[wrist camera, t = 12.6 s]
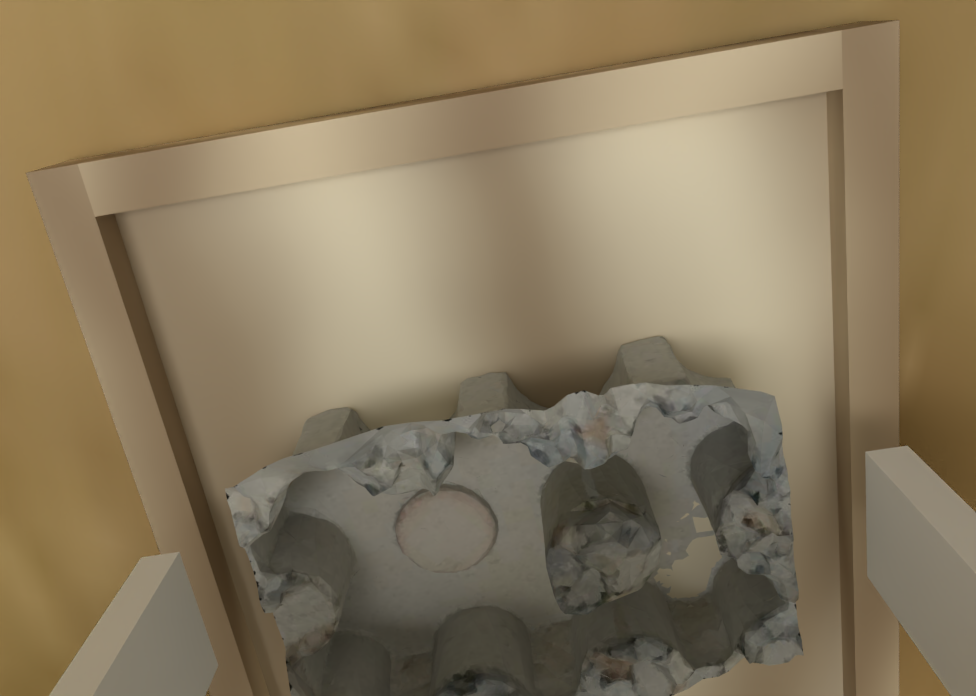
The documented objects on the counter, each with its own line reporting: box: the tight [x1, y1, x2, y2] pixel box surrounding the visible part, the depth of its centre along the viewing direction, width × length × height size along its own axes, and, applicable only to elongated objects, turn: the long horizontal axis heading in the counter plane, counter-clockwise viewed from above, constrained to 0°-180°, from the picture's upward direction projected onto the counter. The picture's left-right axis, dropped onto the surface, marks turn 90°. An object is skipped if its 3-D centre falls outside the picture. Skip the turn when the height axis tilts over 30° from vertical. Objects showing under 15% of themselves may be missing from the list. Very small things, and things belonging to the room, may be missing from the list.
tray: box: [26, 20, 899, 696], centre depth 19 cm, size 16×17×2 cm
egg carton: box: [225, 336, 804, 696], centre depth 17 cm, size 11×8×4 cm
